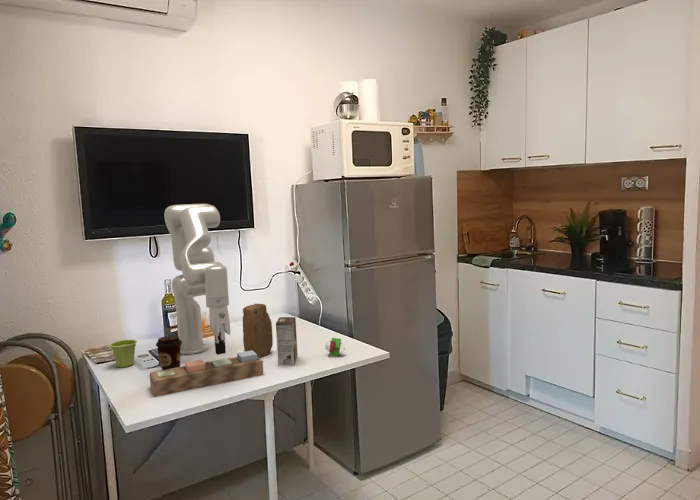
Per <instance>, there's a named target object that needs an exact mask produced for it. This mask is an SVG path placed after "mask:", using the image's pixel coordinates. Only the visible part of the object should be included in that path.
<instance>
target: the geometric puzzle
mask: <svg viewBox="0 0 700 500" xmlns="http://www.w3.org/2000/svg"><path fill="white" fill-rule="evenodd" d="M341 345H342V346H343V347H342V349H343V350H341ZM324 348H325V350H326V351H327V352H328V356H333V357H339V354H340V353H343V351H344V350H346V348H345V346H344V345H343V343H342V338H336V337H332V338H331V339H330V340H329V341H327V342H326V343H325V344H324ZM340 351H341V352H340Z"/></svg>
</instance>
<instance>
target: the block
mask: <svg viewBox="0 0 700 500" xmlns="http://www.w3.org/2000/svg"><path fill="white" fill-rule="evenodd" d="M267 311H268V309H267V305H266V304H264V303H254V304H250V305H246V306H245V307H243V309H242V314H243V316H242V334H243V336H242V338H243V339H242V341H243V350H244V351H243V352H245V351H251V350H253V351H254V352H255V353H256V354H257V356H258V357H259V358H262V357H265V356H267V355H269V354H270V353H271V351H272V348H273V343H274V342H273V341H274V340H273V339H274V338H273V324H272V320H271V317H270V315H269V313H268V312H267Z"/></svg>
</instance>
